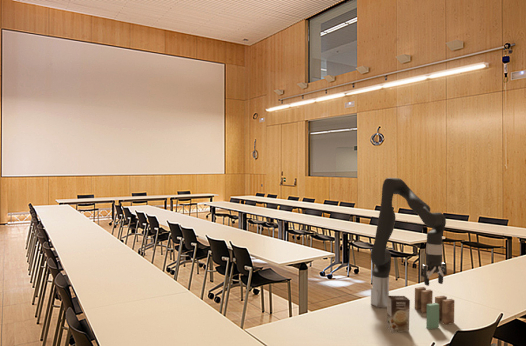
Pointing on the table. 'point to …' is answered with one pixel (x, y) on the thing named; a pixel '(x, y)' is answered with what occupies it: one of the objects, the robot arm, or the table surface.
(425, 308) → the domino
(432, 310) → the domino
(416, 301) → the domino
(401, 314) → the coffee box
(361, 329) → the table surface
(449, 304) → the domino
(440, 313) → the domino
